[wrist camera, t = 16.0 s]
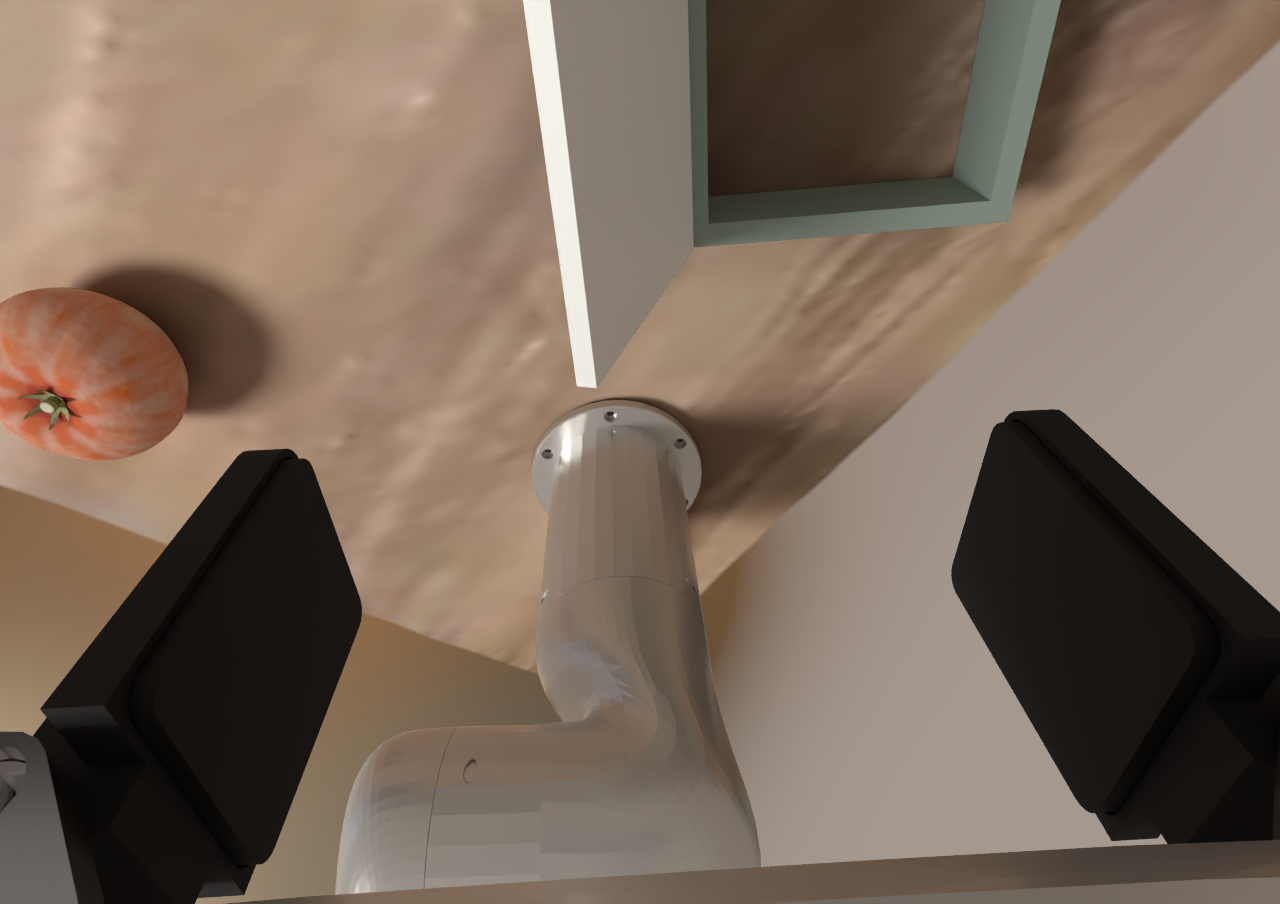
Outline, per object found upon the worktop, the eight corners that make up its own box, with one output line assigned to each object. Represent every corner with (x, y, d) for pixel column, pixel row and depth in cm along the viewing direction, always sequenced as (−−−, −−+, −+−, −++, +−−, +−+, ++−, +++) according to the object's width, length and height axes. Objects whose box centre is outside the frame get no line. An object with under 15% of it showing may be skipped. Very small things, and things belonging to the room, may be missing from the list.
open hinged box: (968, 195, 42) (1188, 340, 26) (586, 227, 42) (576, 389, 26) (1048, -199, 31) (1490, -354, 16) (543, -156, 32) (484, -268, 16)
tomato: (246, 392, 47) (189, 461, 41) (112, 435, 49) (36, 508, 42) (133, 242, 41) (45, 296, 35) (-16, 297, 43) (-128, 358, 36)
